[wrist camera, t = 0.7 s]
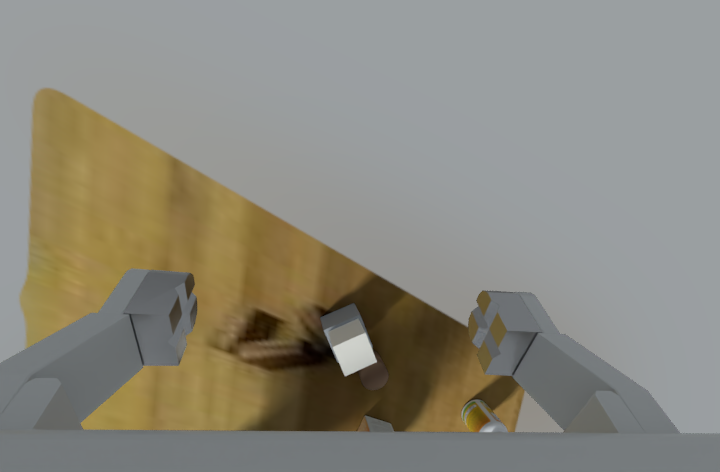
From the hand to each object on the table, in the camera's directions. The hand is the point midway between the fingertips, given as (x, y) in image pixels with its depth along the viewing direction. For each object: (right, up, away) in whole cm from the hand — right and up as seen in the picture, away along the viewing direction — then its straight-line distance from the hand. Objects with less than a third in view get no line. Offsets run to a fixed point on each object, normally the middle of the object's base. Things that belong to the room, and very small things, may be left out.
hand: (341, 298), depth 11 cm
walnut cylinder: (+2, -20, +54) cm, 58 cm away
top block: (-1, -14, +48) cm, 50 cm away
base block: (-2, -13, +52) cm, 54 cm away
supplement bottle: (+22, -31, +61) cm, 72 cm away
